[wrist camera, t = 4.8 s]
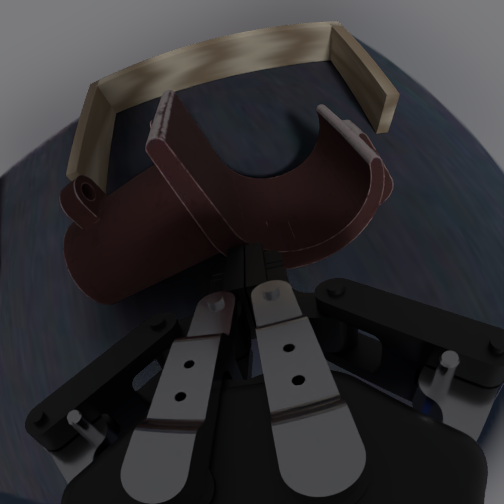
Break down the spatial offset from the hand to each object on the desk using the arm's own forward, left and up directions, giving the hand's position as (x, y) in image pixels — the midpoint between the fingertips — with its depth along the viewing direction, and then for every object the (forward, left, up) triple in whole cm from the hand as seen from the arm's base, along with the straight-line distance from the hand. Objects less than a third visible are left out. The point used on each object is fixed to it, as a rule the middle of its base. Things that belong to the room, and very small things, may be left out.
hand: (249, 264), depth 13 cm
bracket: (-1, +4, -4) cm, 6 cm away
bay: (0, +14, -4) cm, 14 cm away
